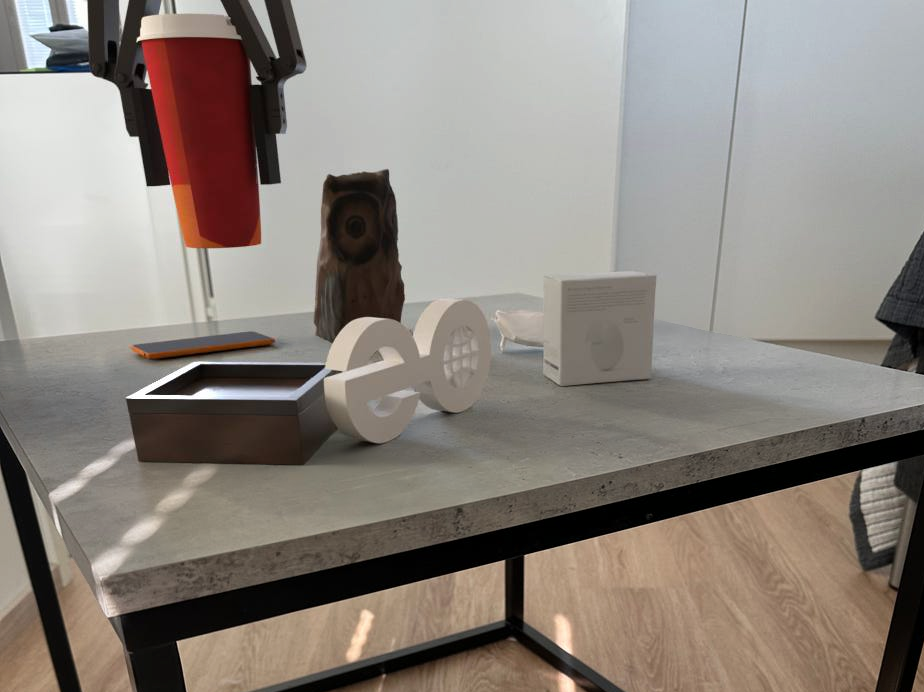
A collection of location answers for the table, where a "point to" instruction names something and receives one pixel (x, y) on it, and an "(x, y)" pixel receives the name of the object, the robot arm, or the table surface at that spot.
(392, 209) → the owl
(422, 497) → the table surface
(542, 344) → the pale pink animal figure
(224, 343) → the smartphone
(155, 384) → the dark brown tray
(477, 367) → the letter
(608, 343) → the cosmetics box
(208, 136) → the coffee cup
